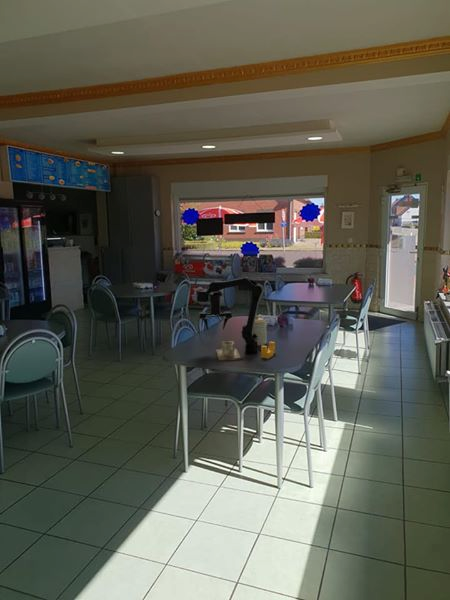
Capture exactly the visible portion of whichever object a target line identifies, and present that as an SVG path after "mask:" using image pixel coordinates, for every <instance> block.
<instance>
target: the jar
mask: <svg viewBox="0 0 450 600" xmlns="http://www.w3.org/2000/svg"><path fill="white" fill-rule="evenodd" d="M247 321H248V319H247V320H246V323H245V325H246V324H247ZM267 326H268V323H266V319H264V318H262V317H259V316H258V315H257V314H256V318H255V322H254V328H255V329H254V333H255V334H256V335H257V336H258V339H257V340H256V341H257V347H258V346H266V344H267V342H268V340H267V339H268V338H267V331H268V329H267Z"/></svg>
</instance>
